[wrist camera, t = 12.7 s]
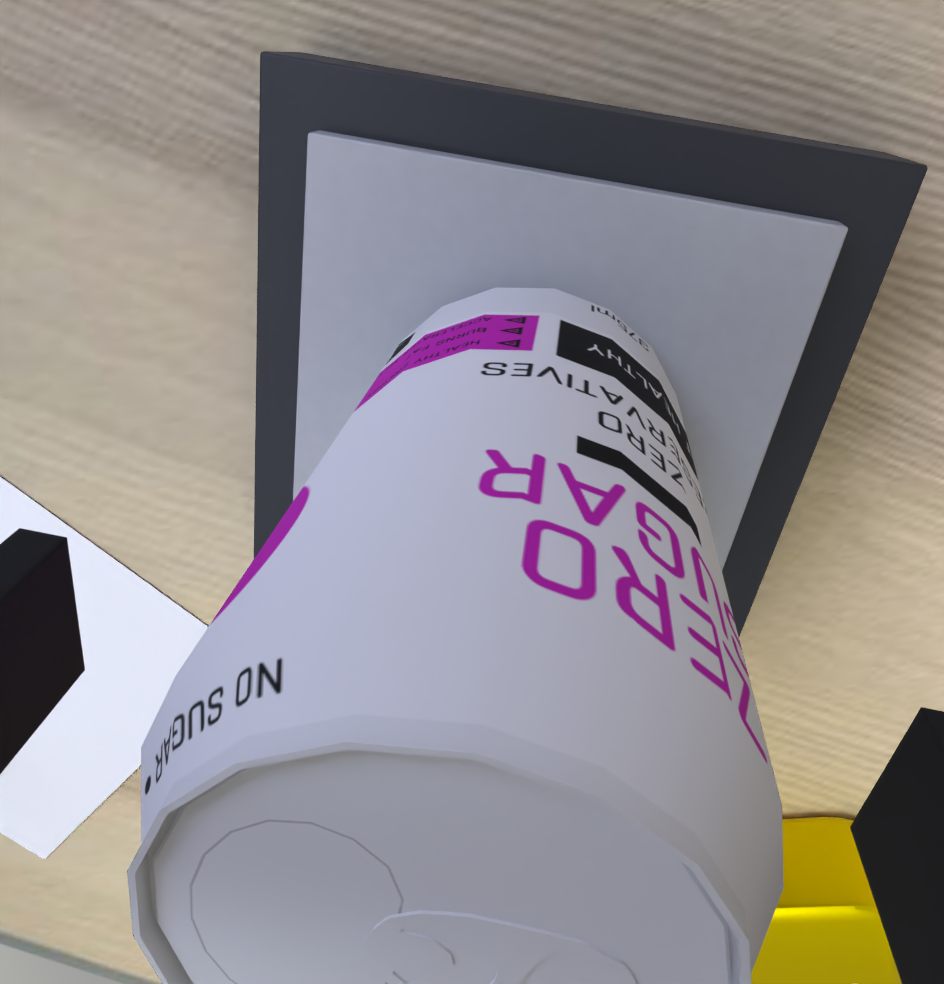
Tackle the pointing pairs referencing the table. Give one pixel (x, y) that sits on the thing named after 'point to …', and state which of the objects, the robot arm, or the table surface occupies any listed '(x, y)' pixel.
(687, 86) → the table surface
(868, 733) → the table surface
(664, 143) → the scale
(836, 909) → the element tile
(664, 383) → the white drink can
